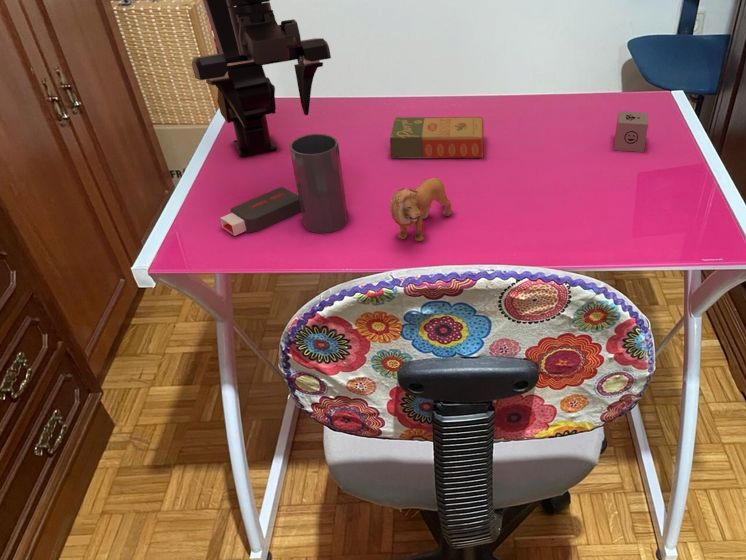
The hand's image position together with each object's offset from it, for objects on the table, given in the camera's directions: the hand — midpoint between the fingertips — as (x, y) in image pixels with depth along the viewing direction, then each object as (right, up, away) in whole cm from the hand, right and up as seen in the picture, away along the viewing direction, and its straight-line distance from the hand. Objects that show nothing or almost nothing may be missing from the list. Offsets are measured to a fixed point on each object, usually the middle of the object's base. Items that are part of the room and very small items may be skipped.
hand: (276, 120), depth 107 cm
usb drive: (-3, -14, +4) cm, 15 cm away
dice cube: (+57, +2, +22) cm, 61 cm away
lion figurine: (+22, -16, +1) cm, 27 cm away
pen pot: (+7, -14, +3) cm, 16 cm away
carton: (+23, +2, +21) cm, 31 cm away
